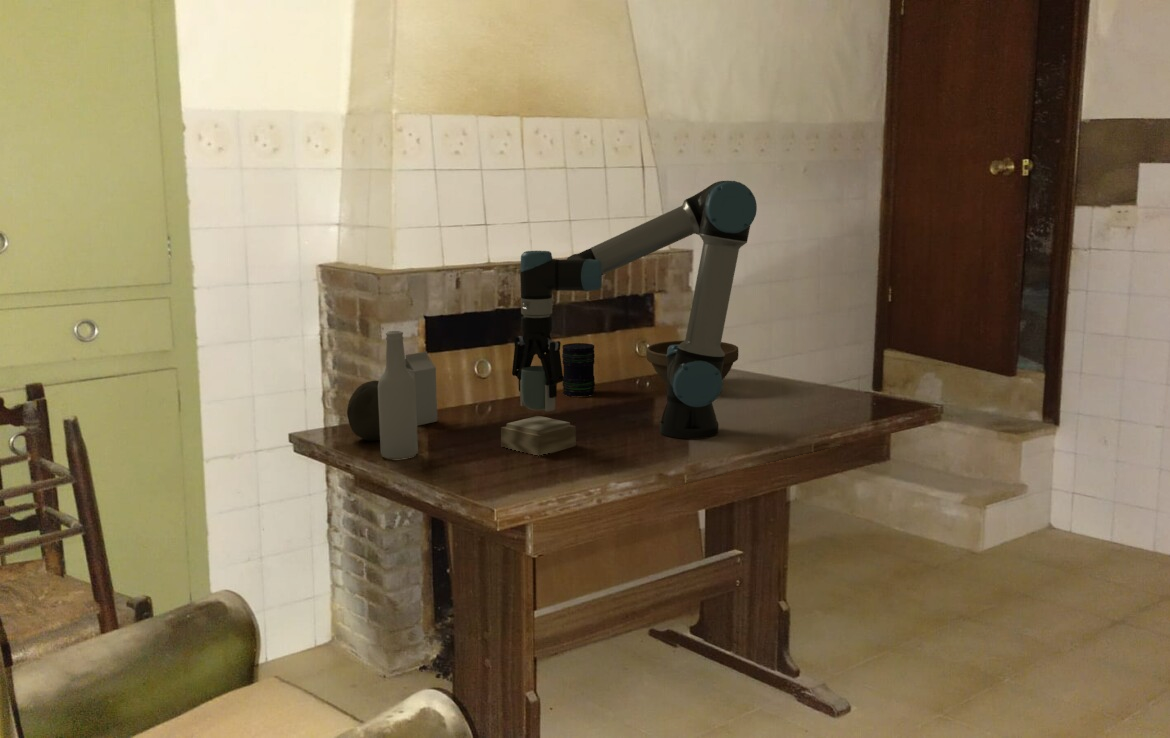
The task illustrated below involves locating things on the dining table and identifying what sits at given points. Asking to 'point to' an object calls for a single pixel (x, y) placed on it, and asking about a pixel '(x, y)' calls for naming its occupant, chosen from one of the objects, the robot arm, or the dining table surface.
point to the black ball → (365, 411)
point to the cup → (533, 387)
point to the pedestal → (538, 435)
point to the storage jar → (578, 369)
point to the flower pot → (659, 350)
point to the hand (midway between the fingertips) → (537, 407)
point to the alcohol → (397, 403)
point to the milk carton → (423, 386)
